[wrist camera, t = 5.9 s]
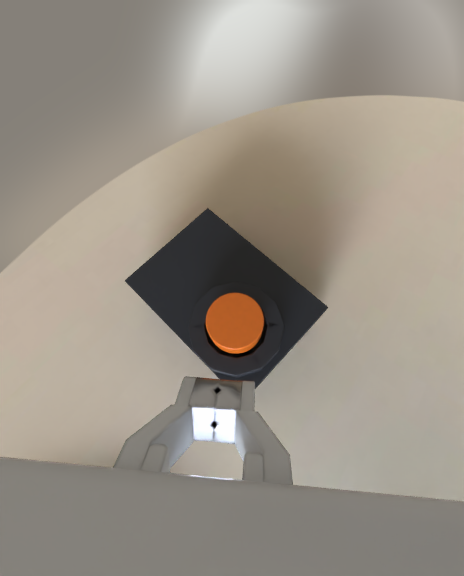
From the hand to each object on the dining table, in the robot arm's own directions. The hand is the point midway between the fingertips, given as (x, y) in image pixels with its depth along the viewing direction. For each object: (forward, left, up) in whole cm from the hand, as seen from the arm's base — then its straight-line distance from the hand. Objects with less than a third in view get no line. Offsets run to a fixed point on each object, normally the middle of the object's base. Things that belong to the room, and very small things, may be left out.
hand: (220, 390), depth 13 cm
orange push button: (-4, -3, -9) cm, 10 cm away
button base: (-5, -6, -16) cm, 18 cm away
